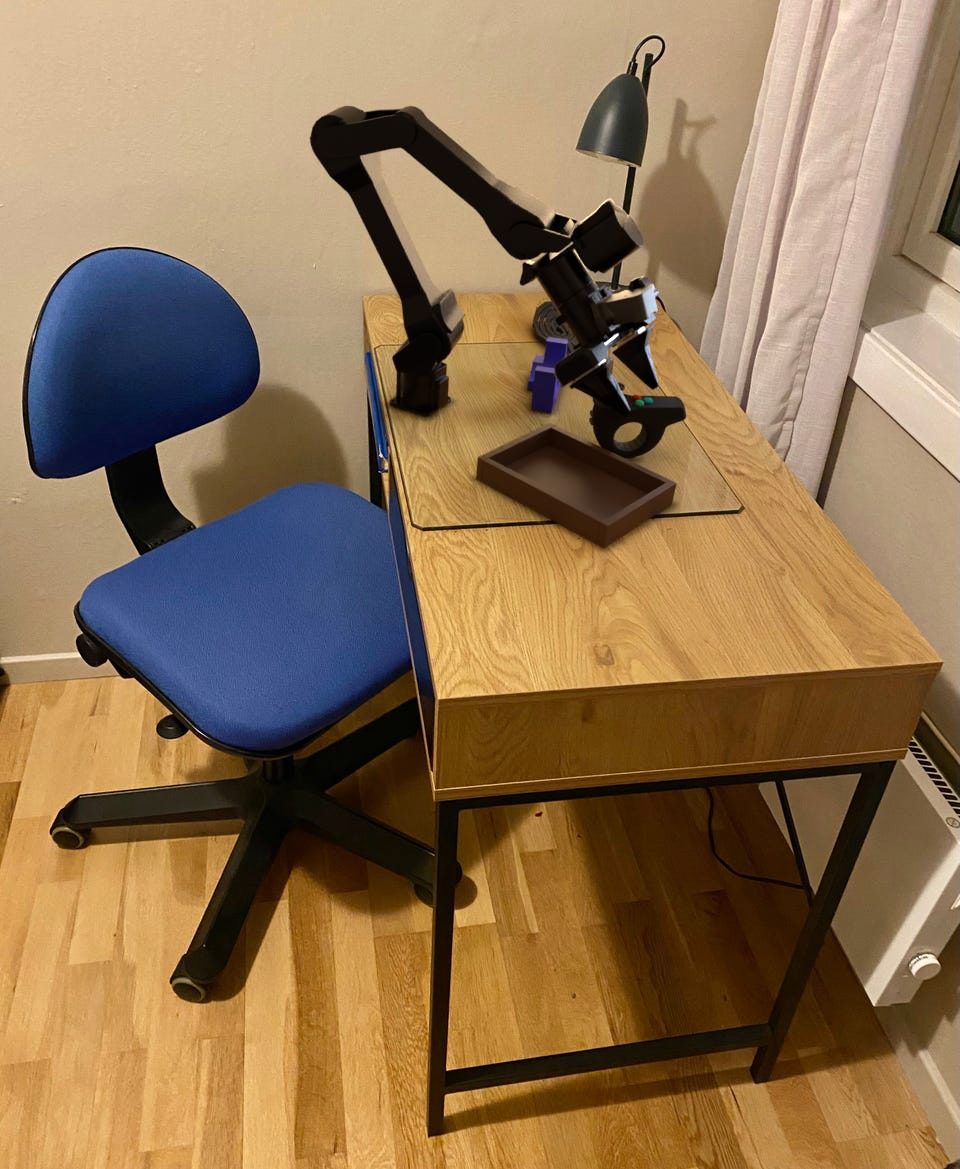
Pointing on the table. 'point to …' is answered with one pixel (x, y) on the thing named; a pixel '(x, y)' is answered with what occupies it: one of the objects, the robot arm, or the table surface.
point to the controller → (644, 411)
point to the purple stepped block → (546, 375)
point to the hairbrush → (551, 330)
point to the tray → (576, 483)
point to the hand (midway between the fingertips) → (642, 400)
